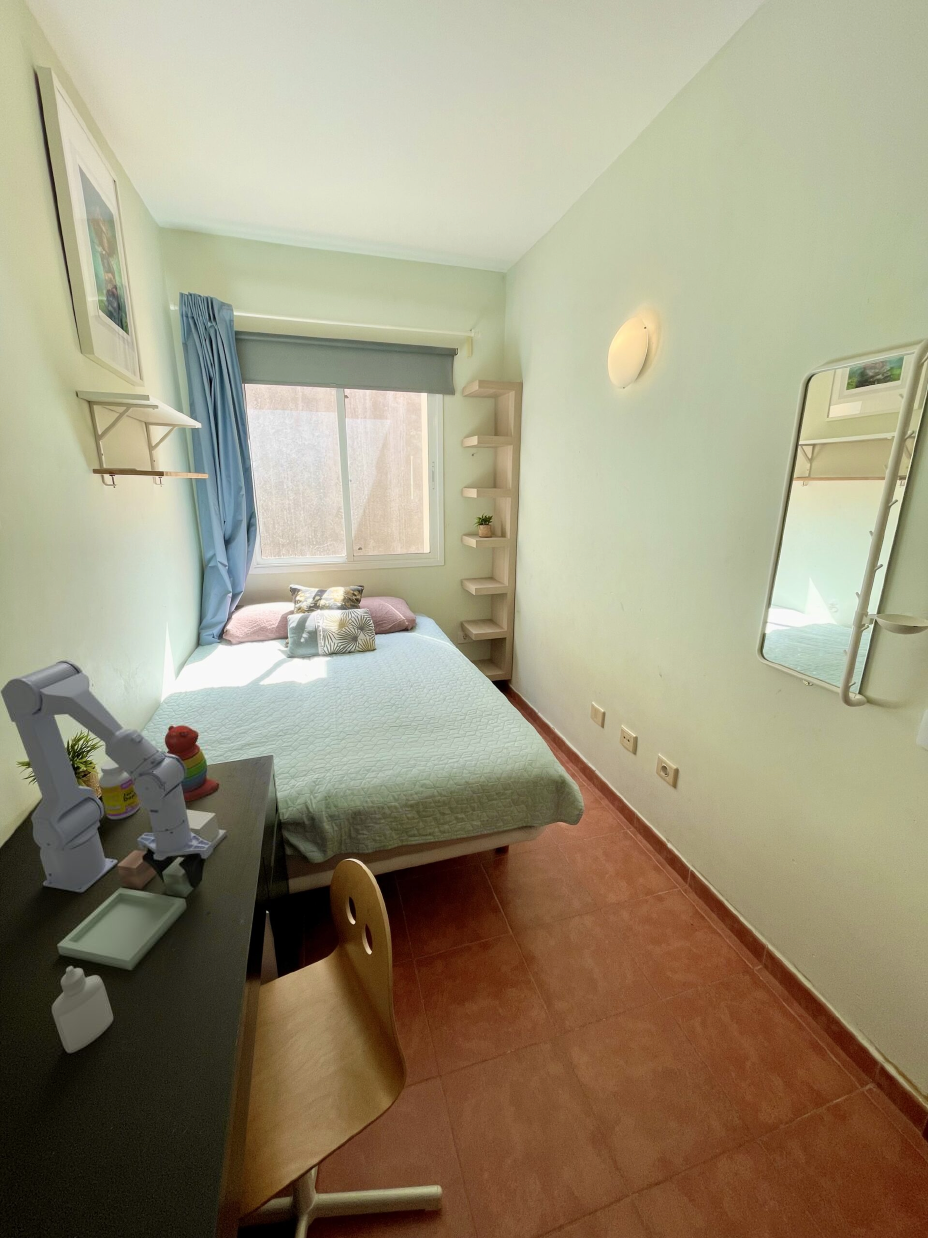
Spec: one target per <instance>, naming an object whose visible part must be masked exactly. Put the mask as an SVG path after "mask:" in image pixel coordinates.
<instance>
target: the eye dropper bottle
mask: <svg viewBox="0 0 928 1238" xmlns="http://www.w3.org/2000/svg"><path fill="white" fill-rule="evenodd" d="M60 985H61V988H62V991H63V992H61V994H60V995H59V996H58V997H57V998H56V999H55V1001H54V1002H53V1004H52V1005H51V1014H52V1016H53V1020H54V1022H55V1026H56V1028H57V1031H58V1034H59V1038H60V1040H61V1043H62V1046H63V1048H64V1050H65V1051H66V1053H68V1054H72V1053H76V1052H78V1051H79V1050H81V1049H83V1048H85V1047H86V1046H88V1045H90V1044H91V1043H92V1042H94V1041H95V1040H96V1039H98V1038H99V1037H100V1036H101V1035H102V1034H103V1033H104V1032H105V1031H106V1030H107V1029H108V1028H109V1027H110V1026H111V1024H112V1022H113V1021H114V1015H113V1011H112V1008H111V1003H110V1000H109V997H108V994H107V990H106V987H105V984H104V982H103V980H102V978H101V977H100V976H99V975H96V974H95V975H91V976H85V973H84V970H83V968H80V967H75V968H74V966H72V965H70V966H68V967H67V968H66V969H65V974H64V975H63V976H62V977H61V980H60Z"/></svg>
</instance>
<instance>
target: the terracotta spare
mask: <svg viewBox="0 0 928 1238" xmlns="http://www.w3.org/2000/svg"><path fill="white" fill-rule="evenodd" d="M146 852H147V851H142V850H136V849H134V850H133V851H132V852H131V853H130V854H129V855H127V856H126V857H125V858H124V859H122V861H120V862H119V863H117V864H116V865H117V870H118V873H119V877H120V882H121V885H122V887H123V888H128V889H130V888H131V889H134V890H135V889H136V890H141V889H143V887H145V885H146V884H148V882H150V881H151V880H152V879H153V878H154V877H155V876H156V875H158V874H157V873H156V871H155V870H154V869H153V868H152V867H151V866H150V865H149V864H148V863H146V862H144V861H143V860H142V856H143V855H144V854H145V853H146ZM146 886H147V885H146Z"/></svg>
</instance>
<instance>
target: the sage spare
mask: <svg viewBox="0 0 928 1238" xmlns="http://www.w3.org/2000/svg"><path fill="white" fill-rule="evenodd" d="M184 858H185V857H180V856H178V857H177V858H176V859H175V860H173V863H172V864H171V865H170V866H169V867H168V868H167V869H166V870H165V871H164V872H163V878H164V882H165V883H164V886H165V889H166V890H165V891H166V894H167V896H169V895H170V896H173V897H178V898H184V899H185V898H186V897H188V896H189V894H191V892H193V890H194V889H195V888H192V887H191V886H190V884H189V880H188V877H187V875H186V873H185V871H184V870H183V869H182V868H181V867H180V866H179V863H180V862H181V861H182V860H183V859H184Z"/></svg>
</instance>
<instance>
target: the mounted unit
mask: <svg viewBox="0 0 928 1238" xmlns="http://www.w3.org/2000/svg"><path fill="white" fill-rule="evenodd" d="M186 811H187V816H188V821H189V826H190V831H191V832H192V833H193V834H195V835H197V836H198V837H200V838H201V839H203V840H205V841H207V842H211V843H212V847H213V850H214V849H215V848H216V847H217V846H218V845H219V843H220V842H221V841H222V840H223V839H224V838H225V837H226V836H227V835H228V833H227V830H225V829H219V823H218V818H217V813H214V812H206V811H199V810H192V809H186ZM184 855H185V856H188V855H187V854H184Z"/></svg>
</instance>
